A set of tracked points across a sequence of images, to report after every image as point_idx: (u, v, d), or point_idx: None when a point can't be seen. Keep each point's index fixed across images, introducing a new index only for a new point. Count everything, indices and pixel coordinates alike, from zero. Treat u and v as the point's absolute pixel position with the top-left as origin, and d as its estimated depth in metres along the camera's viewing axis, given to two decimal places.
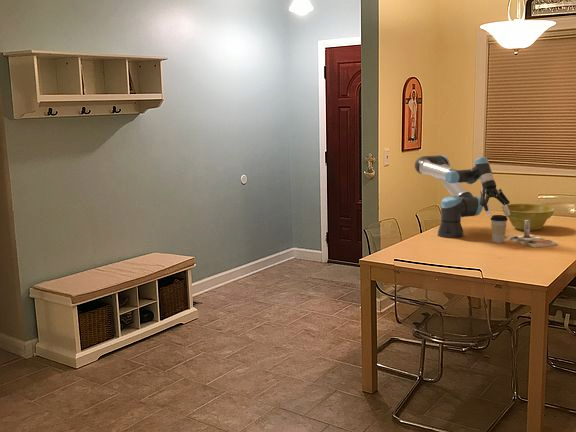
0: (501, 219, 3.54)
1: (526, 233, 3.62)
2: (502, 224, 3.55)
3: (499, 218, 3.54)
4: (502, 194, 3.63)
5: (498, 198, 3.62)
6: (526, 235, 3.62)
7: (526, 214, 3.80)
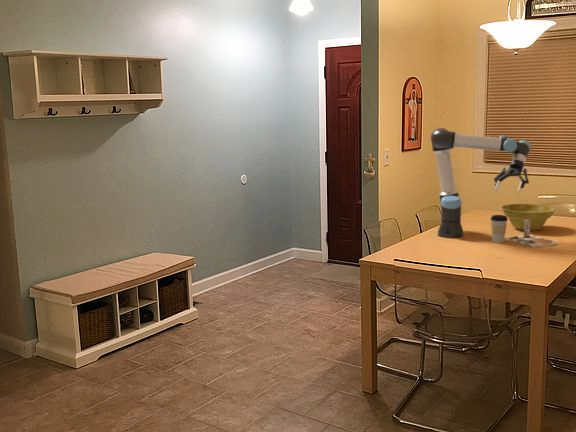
0: (501, 219, 3.54)
1: (526, 233, 3.62)
2: (502, 224, 3.55)
3: (499, 218, 3.54)
4: (503, 175, 3.74)
5: (506, 176, 3.71)
6: (526, 235, 3.62)
7: (526, 214, 3.80)
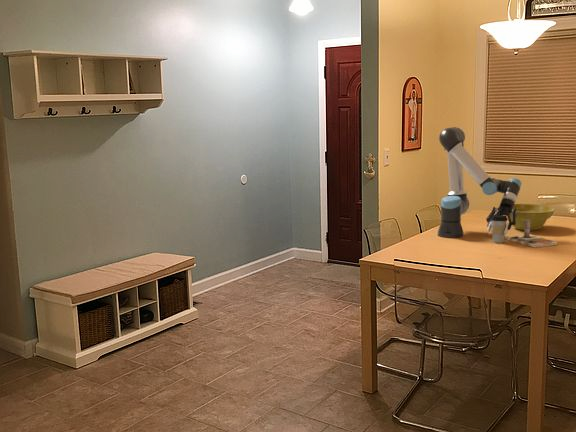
0: (501, 219, 3.54)
1: (526, 233, 3.62)
2: (502, 224, 3.55)
3: (499, 218, 3.54)
4: None
5: None
6: (526, 235, 3.62)
7: (526, 214, 3.80)
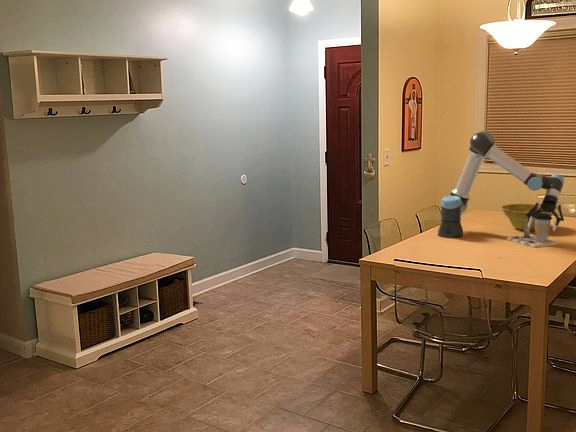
0: (546, 218, 3.45)
1: (526, 233, 3.62)
2: (546, 223, 3.46)
3: (543, 217, 3.46)
4: None
5: (539, 212, 3.56)
6: (526, 235, 3.62)
7: None
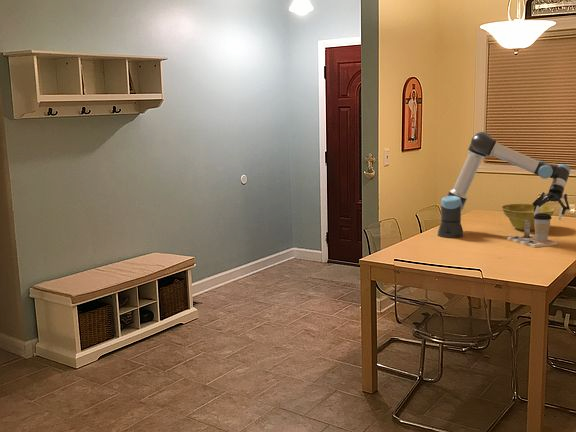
0: (545, 218, 3.46)
1: (526, 233, 3.62)
2: (546, 223, 3.46)
3: (543, 217, 3.46)
4: (542, 199, 3.63)
5: (545, 201, 3.60)
6: (526, 235, 3.62)
7: (526, 214, 3.80)
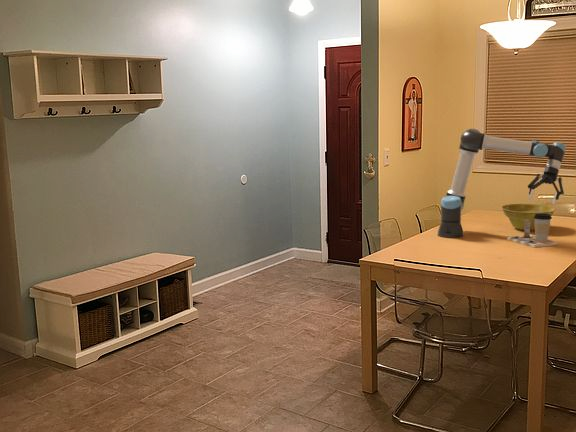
0: (545, 217, 3.46)
1: (526, 233, 3.62)
2: (546, 223, 3.47)
3: (543, 216, 3.46)
4: (537, 180, 3.67)
5: (540, 183, 3.65)
6: (526, 235, 3.62)
7: (526, 214, 3.80)
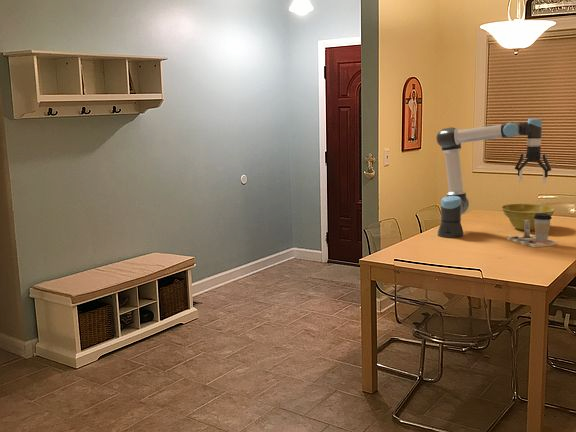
0: (545, 218, 3.46)
1: (526, 233, 3.62)
2: (546, 223, 3.47)
3: (543, 217, 3.46)
4: (522, 159, 3.67)
5: (526, 163, 3.65)
6: (526, 235, 3.62)
7: (526, 214, 3.80)
